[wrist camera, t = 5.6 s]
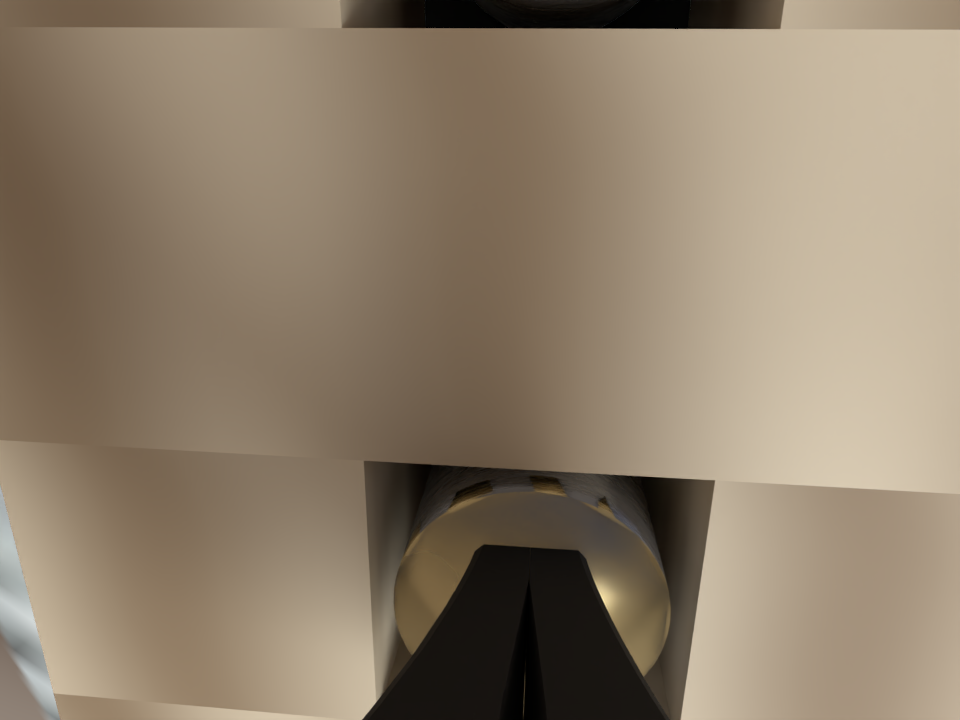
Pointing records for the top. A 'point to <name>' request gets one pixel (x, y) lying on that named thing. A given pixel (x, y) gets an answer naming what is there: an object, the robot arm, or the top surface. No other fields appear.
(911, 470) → the twin-bore block
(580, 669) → the robot arm
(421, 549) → the far peg
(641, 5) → the top surface
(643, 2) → the top surface
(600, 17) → the near peg
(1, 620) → the top surface
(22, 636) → the top surface
